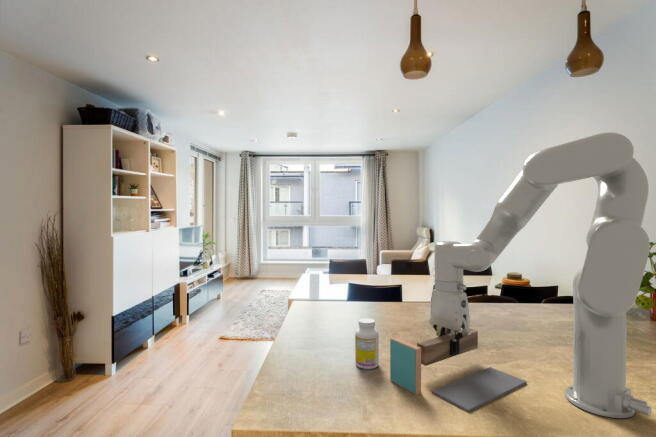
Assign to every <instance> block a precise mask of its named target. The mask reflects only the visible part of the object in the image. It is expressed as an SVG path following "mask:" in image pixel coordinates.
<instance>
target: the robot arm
mask: <svg viewBox="0 0 656 437" xmlns="http://www.w3.org/2000/svg"><path fill="white" fill-rule="evenodd" d="M634 152H635V150H634V145H633V143H632V141H631V140H630V139H629V138H628V137H627V136H625V135H623V134H621V133H618V132H602V133H598V134H593V135H590V136H586V137H583V138H579V139H576V140H572V141H569V142H565V143H562V144H559V145H554V146H550V147H547V148H543V149H541V150H537V151H534V152H533V153H531V154H530V155H529V156H528V157H527V159H525V162H523V163H524V164H523V165H522V170H521V171H520V172H519V174H518V175H517V176H516V178H515V179H514V180H513V182H512V183H511V184H510V186H509V187H508V188H507V190H506V191H505V192H504V194H503V195H502V196H501V197H500V198H499V200H497V203H496V205H495V206H494V208H493V212H492V213H491V214H492V215H491V217H490V219H489V221H488V222H487V224H486V225H485V226H484V228H483V229H482V230H481V232H479V234H478V236H477V237H476V238H475V240H474V241H473V242H470V243H469V242H468V243H461V242H459V241H450V240H449V241H448V240H446V241H445V240H444V241H438V242H436V243H435V245H434V289H432V294H431V301H430V313H429V314H430V317H429V319H428V323H429V324H430V326H432V327H433V329H434V331H435V333H436V336H437V337H440V336H443V335H446V329H447V328H448V329H451V339H452V341H450V355H451V356H453V357H455V356H454V355H456V356H458V355H457V354H459V340H461V339H462V338H463V337H464V336H467V335H470V334H471V332H470V329H471V328H470V326H471V322H470V321H471V320H470V319H471V317H470V307H469V301H468V297H467V296H468V295H467V293H466V292H465V291H466V290H467V285H465V284H464V270H465V271H470V272H475V273H477V272H483V271H485V270H487V269H489V268H490V267H491V265H492V264H494V263H495V262H496V260H497V258H498V257H499V256H500V255H501V254H502V252H504V250H505V249H506V247H507V246H508V245H509V244H510V242H511V241H512V240H513V239H514V238H515V236H516V235H517V234H518V233H519V232H520V231H521V230H522V229H524V227H525V226H526V225H528V223H529V222H530V220H531V219H533V217H534V215H535V214H537V212H538V211H539V209H540V208H541V207H542V205H543V204H544V203H545V202H546V201H547V199H548V198H549V197H550V196H551V194H552V193H553V192H554V191H555V189H557V187H558V186H559V185H561V184H566V183H571V182H572V183H573V182H575V181H580V180H584V179H585V180H586V179H589V178H593V179H594V180H595V181H596V182H597V186H598V194H597V197H596V198H597V199H596V202H595V204H596V205H595V209H594V212H593V215H592V219H591V222H590V226H589V229H588V232H587V233H586V238H585V239H586V240H585V241H586V246H587V250H586V254H585V259H584V263H583V266H582V268H580V269H579V270H578V271H577V272H576V273H575V275H574V277H573V281H572V298H573V300H572V301H573V349H572V350H573V355H572V358H573V359H572V360H573V369H572V370H573V373H572V375H573V377H572V378H573V379H572V380H573V381H572V383H573V384H572V385H570V386H567V387H566V388H565V390H564V392H565V393H564V394H565V395H564V396H565V398H566V399H567V400H568V402H570V403H571V404H573V405H574V406H576V407H578V408H579V409H582V410H583V411H586V412H589V413H592V414H594V415H598V416H601V417H606V418H610V419H611V418H612V419H613V418H614V419H628V418H631V417H633V416H634V415H635V414H636V412H638V413H640V414H643V415H645V416H647V417H651V414H652V406H651V405H649V404H648V402H647V401H646V400H642V399H639V398H636V397H634V396H633V395H632V389H631V388H629V387H627V339H628V338H627V312H628V311H629V310H630V309H632V308H633V306H634V304H635V302H636V301H637V297H638V295H639V292H640V288H641V285H642V281H643V277H644V273H645V270H646V267H647V263H648V259H649V254H650V249H651V248H650V246H651V244H650V238H649V234H648V233H647V231H646V230H645V228H643V227H642V226H643V221H644V216H645V213H646V207H647V204H648V203H647V201H648V198H649V180H648V177H647V174H646V172H645V170H644V169H643V167H642V166H641V164H640V163H639V161H638V160H636V159H635V157H634ZM469 328H470V329H469ZM461 330H463V331H462V332H461ZM459 355H460V354H459Z"/></svg>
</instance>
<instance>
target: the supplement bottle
mask: <svg viewBox="0 0 656 437" xmlns="http://www.w3.org/2000/svg"><path fill="white" fill-rule="evenodd" d="M358 326H359V327H358V328H356V330H355V331H354V332H355V334H354V336H355V337H354V338H355V341H354V342H355V343H354V344H355V348H354V349H355V352H354V353H355V356H354V357H355V365H356V366H357V367H358V368H360V369H364V370H373V369H376V368H377V367H378V366H379V360H380V359H379V358H380V357H379V355H380V353H379V352H380V351H379V343H380V342H379V330H378V329H376V328H375V326H376V321H375V319H373V318H367V317H365V318H360V319H358Z"/></svg>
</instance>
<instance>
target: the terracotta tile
mask: <svg viewBox="0 0 656 437" xmlns="http://www.w3.org/2000/svg"><path fill="white" fill-rule="evenodd" d="M389 339H390V340H389V341H390V344H389V348H390V349H389V350H390V351H389V352H390V353H389V354H390V355H389V356H390V357H389V358H390V359H389V360H390V361H389V363H390V364H389V369H390V370H389V371H390V373H389V374H390V375H389V377H390V378H389V379H390V381H391V382H392V383H394V384H396V385H398V386H400V387H401V388H403V389H404V390H407V391H408V392H410V393H412V394H414V395H416V396H418V395H420V394H422V364H421V348H420V347H418V346H417V345H415V344H412V343H411V342H408V341H405V340H403V339H400V338H398V337H396V336H393V337H390V338H389Z"/></svg>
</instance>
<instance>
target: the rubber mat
mask: <svg viewBox="0 0 656 437" xmlns="http://www.w3.org/2000/svg"><path fill="white" fill-rule="evenodd" d="M527 383H528V382H527V380H525V379H522V378H519V377H518V376H514V375H512V374H509V373H507V372H504V371H501V370H499V369H496V368H494V367H491V366H489V367H486V368H484V369H482V370H479V371H477V372H475V373H472V374H469V375H468V376H465V377H462V378H460V379H456V380H455V381H453V382H450V383H448V384H447V383H446V384H445V385H443V386H440V387H437V388H435V389H433V390H431V393H432V394H433V395H435V396H437V397H439V398H441V399H442V400H444V401H446V402H448V403H450V404H452V405H454V406H455V407H458V408H459V409H462V410H463V411H465V412H467V413H470V412H472V411H475V410H477V409H478V408H480V407H483V406H485V405H487V404H489V403H491V402H492V401H495V400H496V399H498V398H501V397H502V396H505V395H507V394H508V393H510V392H512V391H515V390H516V389H518V388H521V387H522V386H524V385H527Z"/></svg>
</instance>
